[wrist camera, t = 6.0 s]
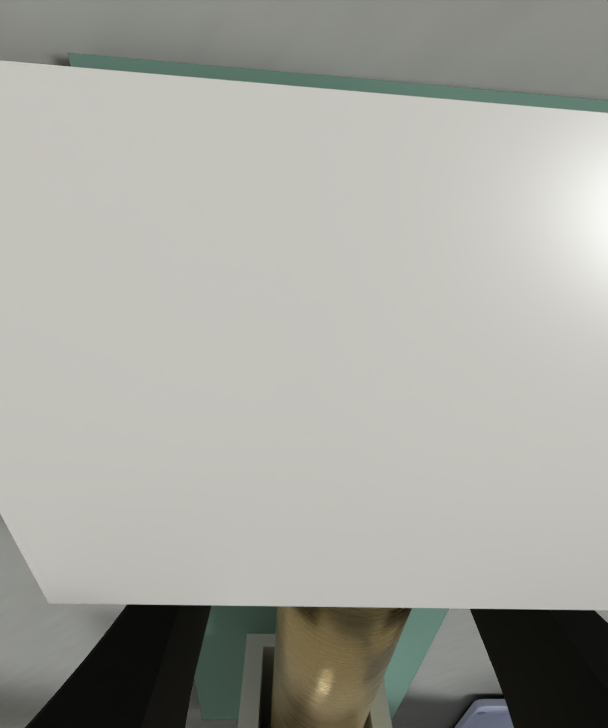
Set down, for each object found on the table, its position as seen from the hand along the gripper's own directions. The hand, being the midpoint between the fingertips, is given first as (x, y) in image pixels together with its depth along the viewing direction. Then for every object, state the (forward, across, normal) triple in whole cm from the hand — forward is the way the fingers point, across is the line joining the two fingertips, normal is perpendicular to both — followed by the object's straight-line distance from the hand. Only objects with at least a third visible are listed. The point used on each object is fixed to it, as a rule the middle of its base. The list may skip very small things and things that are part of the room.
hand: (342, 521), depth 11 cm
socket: (+2, 0, -7) cm, 7 cm away
